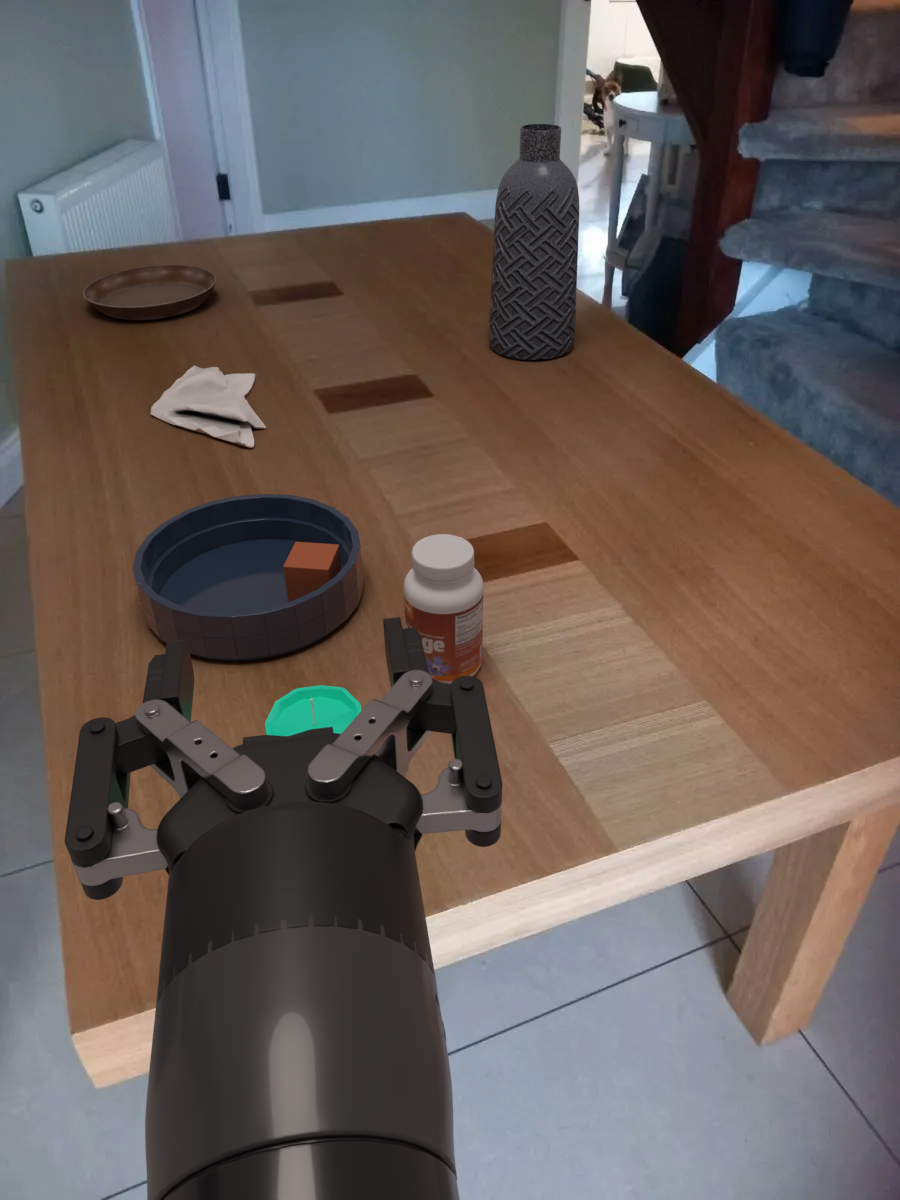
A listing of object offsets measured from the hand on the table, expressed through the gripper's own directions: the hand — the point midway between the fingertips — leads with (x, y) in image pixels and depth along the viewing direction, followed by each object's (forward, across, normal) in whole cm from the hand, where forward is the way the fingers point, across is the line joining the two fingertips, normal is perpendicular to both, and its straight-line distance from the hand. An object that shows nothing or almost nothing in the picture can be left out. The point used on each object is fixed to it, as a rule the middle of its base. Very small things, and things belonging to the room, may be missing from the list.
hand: (287, 645), depth 37 cm
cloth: (+81, +11, +25) cm, 86 cm away
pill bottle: (+27, -10, +25) cm, 38 cm away
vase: (+94, -34, +25) cm, 103 cm away
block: (+38, 0, +24) cm, 45 cm away
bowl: (+39, +5, +25) cm, 47 cm away
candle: (+11, 0, +25) cm, 28 cm away
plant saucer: (+124, +22, +25) cm, 128 cm away
